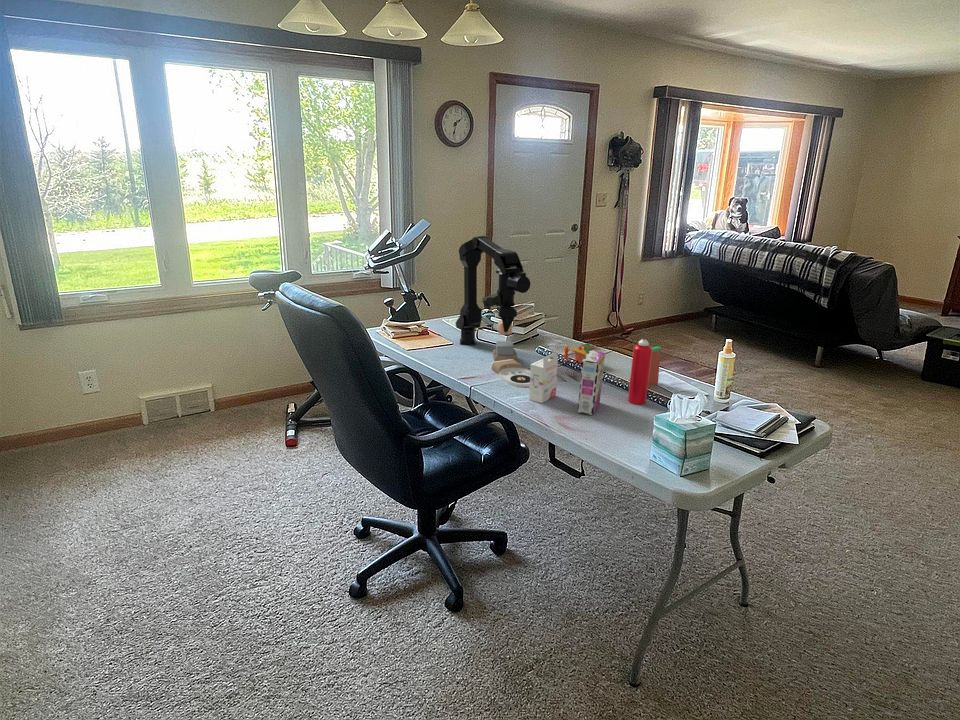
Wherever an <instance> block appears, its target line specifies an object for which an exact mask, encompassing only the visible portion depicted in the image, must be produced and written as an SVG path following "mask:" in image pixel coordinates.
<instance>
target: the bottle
mask: <svg viewBox="0 0 960 720" xmlns="http://www.w3.org/2000/svg"><path fill="white" fill-rule="evenodd" d="M649 343H650V342H649V341H648V340H647V339H646V338H641V339H640V340H639V341H638V344H636V345H635V346H634V347H633V350H632V360H631V368H630V369H631V370H630V376H631V377H629V382H630V386H629V385H628V395H627V402H628V403H630V404H632V405H637V406H639V405H640V406H643V405H646V403H647V398H648V389H649V387H648V382H649V374H650V365H651V357H652V346H651V345H650V344H649Z"/></svg>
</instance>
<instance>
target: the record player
mask: <svg viewBox="0 0 960 720" xmlns="http://www.w3.org/2000/svg"><path fill="white" fill-rule="evenodd" d="M490 369H491V371H493V372H494V373H495V374H498V378H499V379H500V380H501V381H503V382H504V383H506V384H508V385H510V386H512V387H518V388H530V369H527V368H524V367H523V364H521V363H520V362H518V360H517V361H515V360H514V359H508V360H501V361H494V360H493V361H492V362H491V363H490Z"/></svg>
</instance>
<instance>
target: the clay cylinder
mask: <svg viewBox="0 0 960 720" xmlns="http://www.w3.org/2000/svg"><path fill="white" fill-rule="evenodd" d="M497 322H498V323H497V325H498V327H497V333H498V334H499V335H503V336H506V335H509V336H510V335H511V334H512V333H513V322H512V323H511V325H510V328H509V330H508V332H504V328H503V321H502V320H499V321H497Z"/></svg>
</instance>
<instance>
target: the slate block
mask: <svg viewBox="0 0 960 720" xmlns="http://www.w3.org/2000/svg"><path fill="white" fill-rule="evenodd" d="M495 344H496V345H495V350H496V352H497V355H514V349H515V346H514V342H513V340H511V341H510V340H509V341H507V340H504V341H503V340H500V341H497V340H496V341H495Z"/></svg>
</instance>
